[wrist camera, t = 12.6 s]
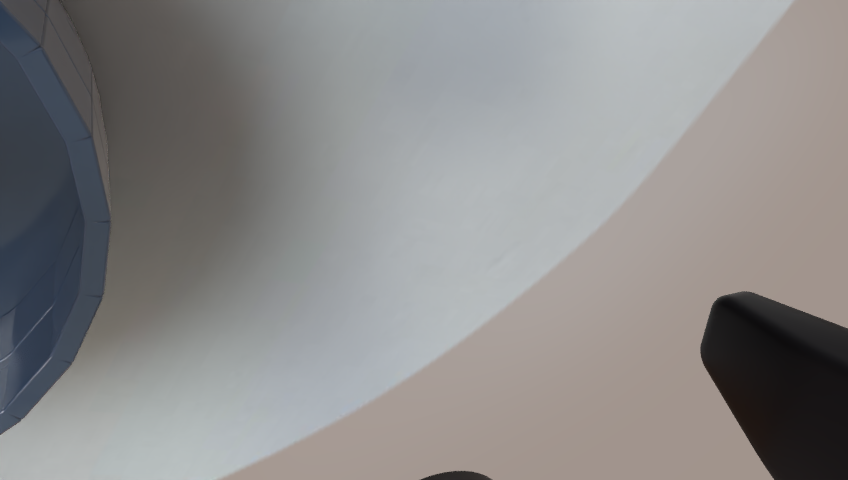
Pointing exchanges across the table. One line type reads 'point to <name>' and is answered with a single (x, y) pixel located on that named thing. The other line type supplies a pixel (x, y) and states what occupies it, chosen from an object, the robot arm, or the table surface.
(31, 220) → the bowl
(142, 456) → the table surface
